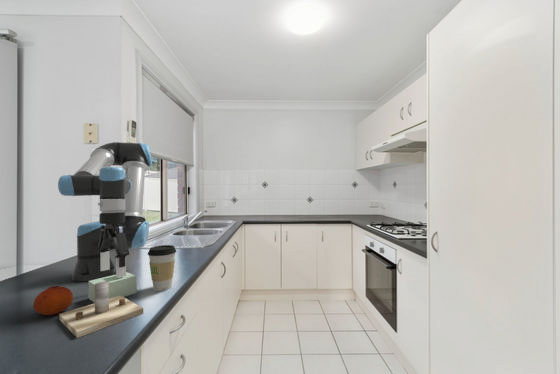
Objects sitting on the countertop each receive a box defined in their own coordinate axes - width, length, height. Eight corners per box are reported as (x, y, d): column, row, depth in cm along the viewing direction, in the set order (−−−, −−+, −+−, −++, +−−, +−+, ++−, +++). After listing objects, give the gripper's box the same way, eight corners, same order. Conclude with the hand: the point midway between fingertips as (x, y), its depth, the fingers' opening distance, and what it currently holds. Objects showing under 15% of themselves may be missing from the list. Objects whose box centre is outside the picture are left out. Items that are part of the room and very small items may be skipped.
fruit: (80, 307, 82) (80, 281, 82) (49, 321, 73) (49, 292, 73) (58, 305, 84) (58, 280, 84) (26, 318, 75) (25, 290, 75)
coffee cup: (154, 283, 102) (153, 245, 102) (180, 282, 103) (179, 244, 103) (143, 293, 92) (142, 251, 92) (171, 292, 93) (171, 250, 93)
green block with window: (97, 304, 83) (97, 286, 84) (88, 298, 88) (88, 281, 88) (136, 292, 93) (136, 275, 93) (126, 288, 98) (126, 271, 98)
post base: (59, 319, 74) (58, 285, 74) (120, 300, 87) (120, 271, 87) (77, 338, 65) (76, 299, 65) (143, 313, 77) (143, 281, 77)
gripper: (87, 211, 96) (87, 270, 95) (115, 213, 80) (115, 283, 80) (110, 210, 101) (110, 265, 101) (140, 211, 86) (140, 276, 86)
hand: (112, 273), depth 90 cm, fingers open, 13 cm apart
